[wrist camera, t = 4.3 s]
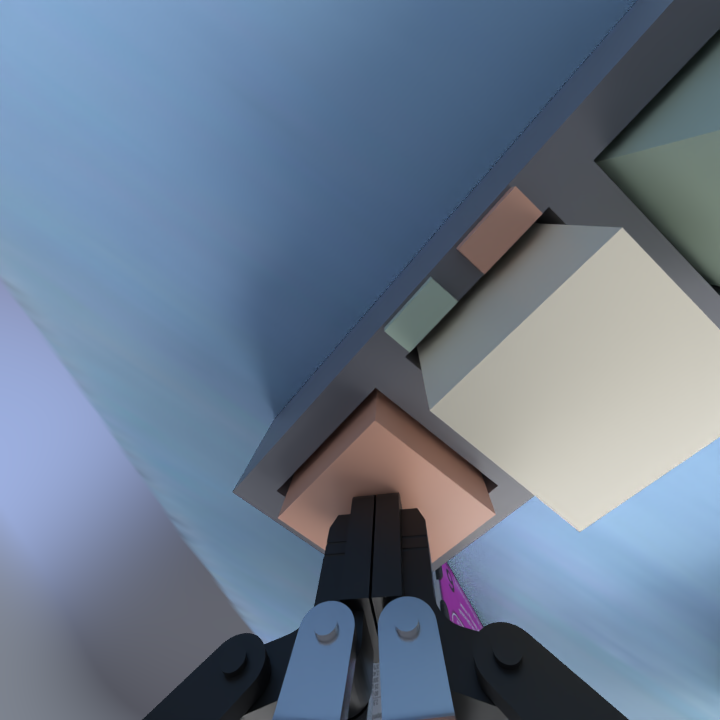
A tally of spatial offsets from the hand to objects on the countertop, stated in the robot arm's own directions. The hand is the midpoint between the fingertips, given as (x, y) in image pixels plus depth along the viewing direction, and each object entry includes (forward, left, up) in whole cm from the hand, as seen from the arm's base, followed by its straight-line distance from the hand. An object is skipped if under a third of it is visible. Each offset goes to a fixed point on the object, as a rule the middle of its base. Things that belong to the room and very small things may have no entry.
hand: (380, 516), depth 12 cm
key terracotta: (0, 0, -5) cm, 5 cm away
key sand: (-6, -5, -3) cm, 8 cm away
